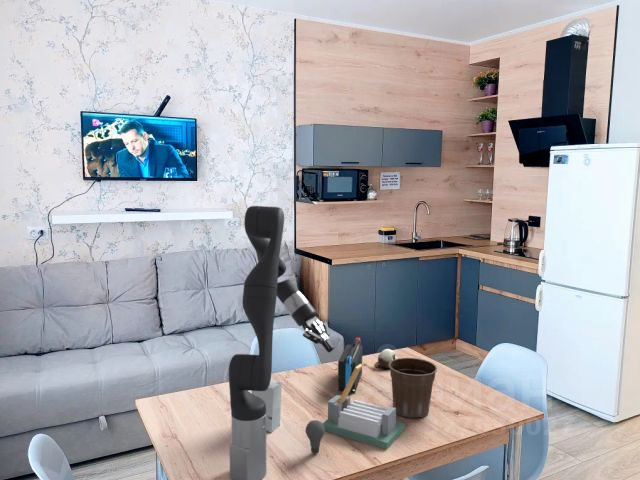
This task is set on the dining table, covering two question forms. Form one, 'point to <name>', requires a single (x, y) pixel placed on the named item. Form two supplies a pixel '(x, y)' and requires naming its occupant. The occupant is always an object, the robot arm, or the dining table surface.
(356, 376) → the retention strap
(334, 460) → the dining table surface
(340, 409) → the base
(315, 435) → the light bulb
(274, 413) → the skincare box
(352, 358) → the game console
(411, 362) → the plant pot
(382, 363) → the skull
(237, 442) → the robot arm
